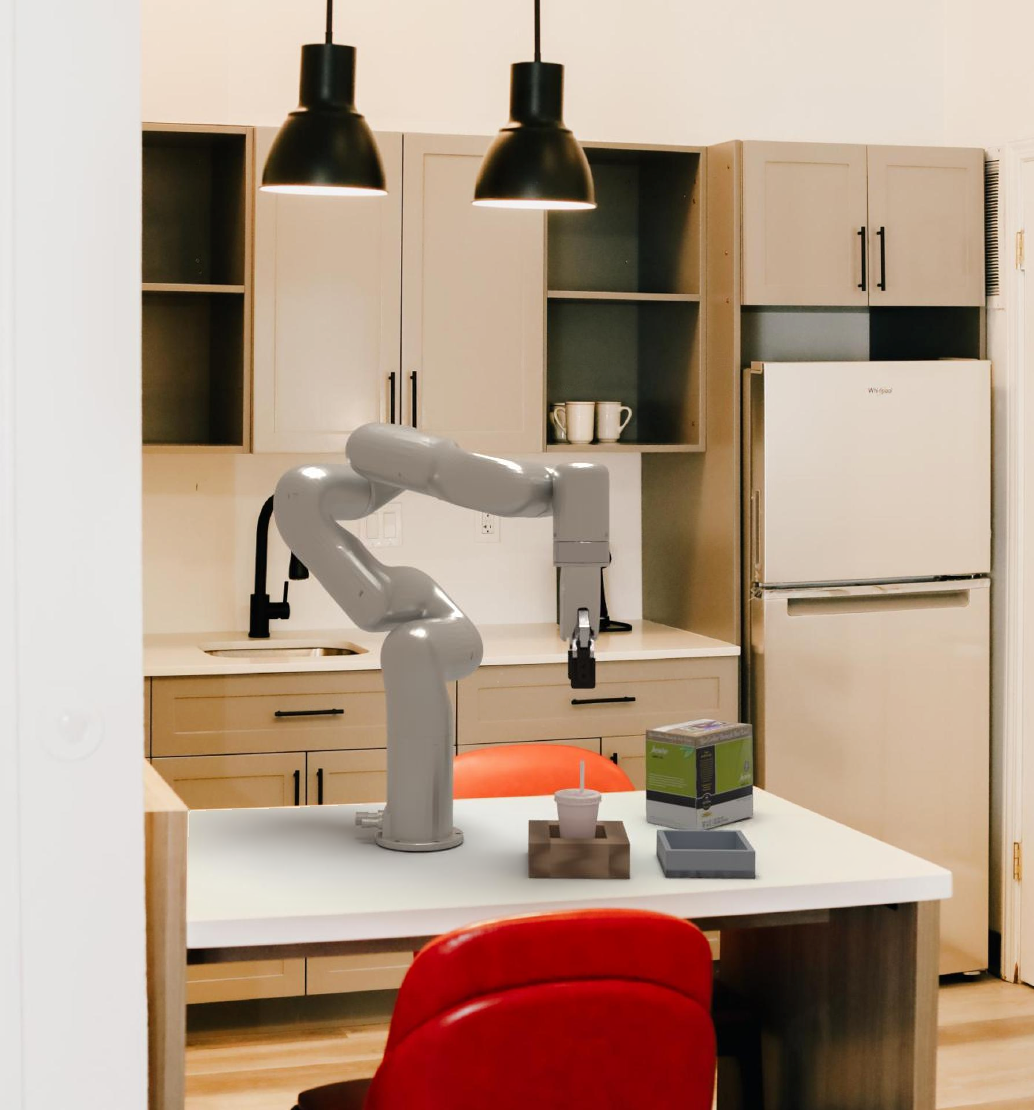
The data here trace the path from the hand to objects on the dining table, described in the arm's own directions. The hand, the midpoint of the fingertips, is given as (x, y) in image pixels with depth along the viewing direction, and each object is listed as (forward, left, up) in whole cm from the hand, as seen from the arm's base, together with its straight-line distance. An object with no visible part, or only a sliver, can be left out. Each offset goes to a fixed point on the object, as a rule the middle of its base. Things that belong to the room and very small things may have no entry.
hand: (581, 683), depth 179 cm
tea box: (+20, +27, -25) cm, 42 cm away
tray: (+17, 0, -24) cm, 29 cm away
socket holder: (0, 0, -24) cm, 24 cm away
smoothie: (0, 0, -25) cm, 25 cm away
